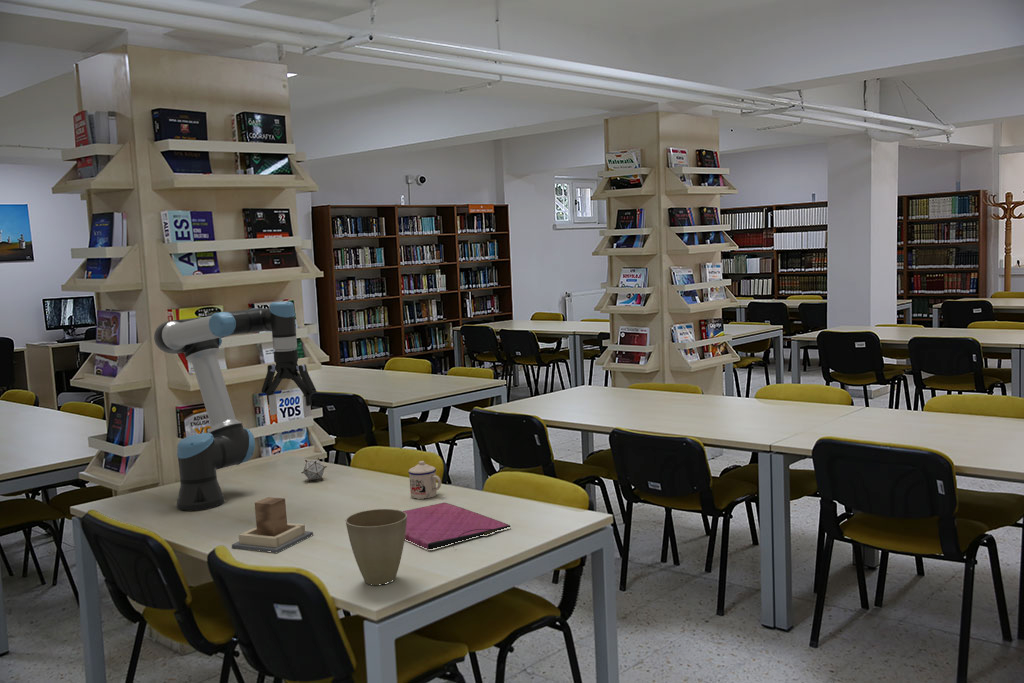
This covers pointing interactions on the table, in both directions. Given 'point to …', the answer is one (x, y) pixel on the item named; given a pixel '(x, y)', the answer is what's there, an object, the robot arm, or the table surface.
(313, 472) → the game die
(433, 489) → the teacup with lid
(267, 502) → the walnut block
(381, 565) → the plant pot
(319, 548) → the table surface
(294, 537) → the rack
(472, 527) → the laptop bag
